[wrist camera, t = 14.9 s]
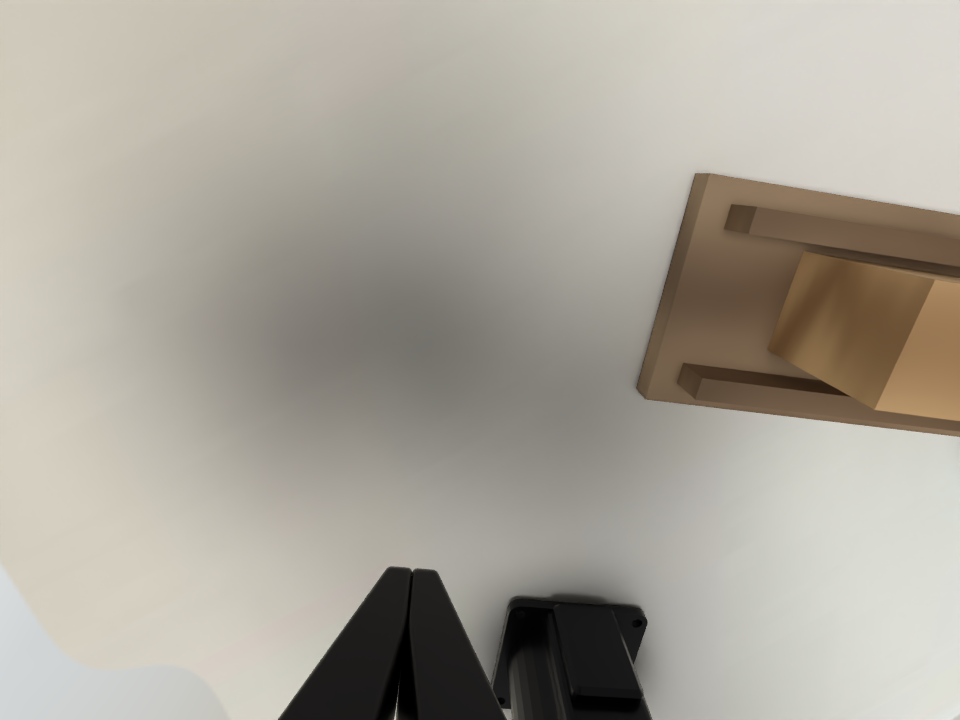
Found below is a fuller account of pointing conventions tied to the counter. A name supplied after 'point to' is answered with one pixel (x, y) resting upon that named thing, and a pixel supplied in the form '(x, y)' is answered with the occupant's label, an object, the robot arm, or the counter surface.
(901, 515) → the counter surface
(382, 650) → the robot arm
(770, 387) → the board
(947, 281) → the wooden block
